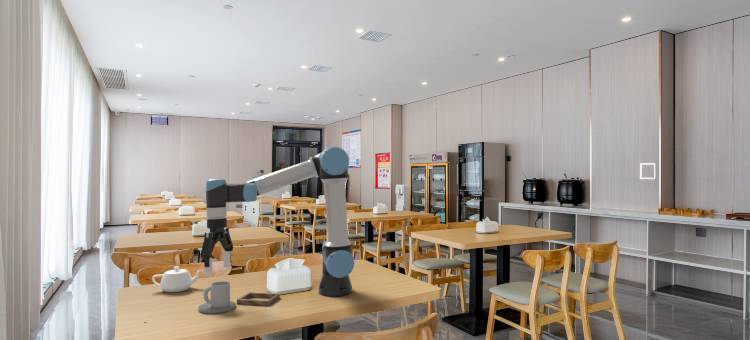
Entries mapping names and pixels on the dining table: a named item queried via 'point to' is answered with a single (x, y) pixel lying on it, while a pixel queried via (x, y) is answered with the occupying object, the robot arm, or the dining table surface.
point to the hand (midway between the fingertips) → (218, 271)
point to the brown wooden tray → (258, 302)
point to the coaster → (208, 309)
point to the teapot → (176, 280)
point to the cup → (218, 294)
